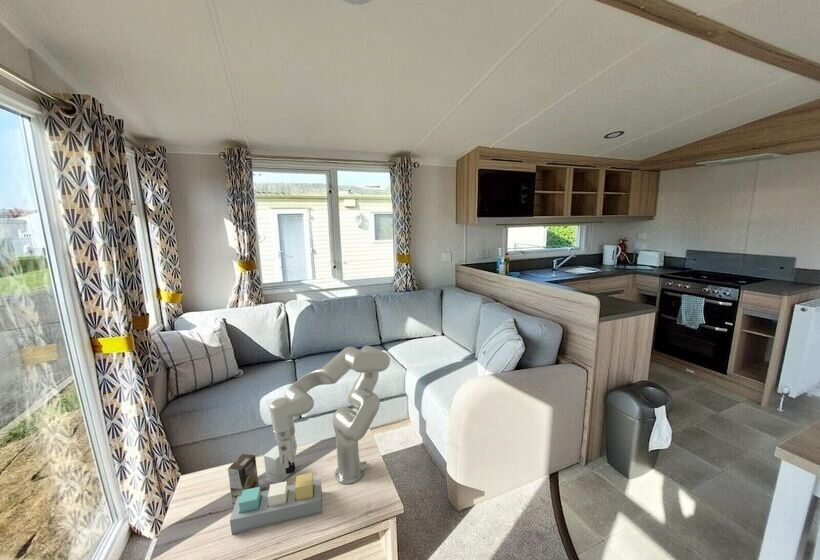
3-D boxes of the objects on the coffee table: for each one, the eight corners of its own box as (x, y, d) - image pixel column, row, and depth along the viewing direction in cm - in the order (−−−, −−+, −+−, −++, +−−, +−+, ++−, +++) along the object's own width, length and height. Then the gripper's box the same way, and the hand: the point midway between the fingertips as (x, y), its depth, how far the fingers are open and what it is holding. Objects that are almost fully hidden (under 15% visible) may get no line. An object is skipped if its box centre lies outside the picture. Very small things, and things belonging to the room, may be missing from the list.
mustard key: (313, 487, 134) (312, 472, 133) (313, 499, 128) (311, 484, 127) (297, 491, 133) (296, 476, 131) (296, 503, 127) (295, 487, 126)
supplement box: (291, 473, 149) (288, 449, 146) (278, 485, 142) (275, 459, 140) (279, 469, 152) (276, 444, 149) (266, 480, 145) (263, 455, 143)
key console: (321, 491, 138) (320, 478, 137) (321, 513, 127) (320, 500, 126) (239, 509, 130) (237, 496, 129) (231, 534, 120) (229, 520, 119)
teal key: (261, 502, 130) (259, 486, 128) (258, 515, 124) (256, 499, 122) (244, 505, 128) (242, 490, 127) (241, 519, 122) (238, 503, 121)
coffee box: (245, 505, 132) (240, 470, 129) (231, 503, 133) (226, 468, 131) (259, 487, 141) (255, 454, 138) (246, 485, 142) (242, 452, 139)
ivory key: (288, 496, 132) (286, 481, 131) (286, 509, 126) (285, 493, 125) (272, 499, 130) (270, 484, 129) (269, 512, 125) (267, 497, 123)
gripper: (292, 441, 118) (298, 484, 121) (296, 417, 132) (302, 456, 136) (270, 445, 116) (277, 489, 120) (277, 420, 130) (283, 460, 134)
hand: (290, 471), depth 128 cm, fingers closed
